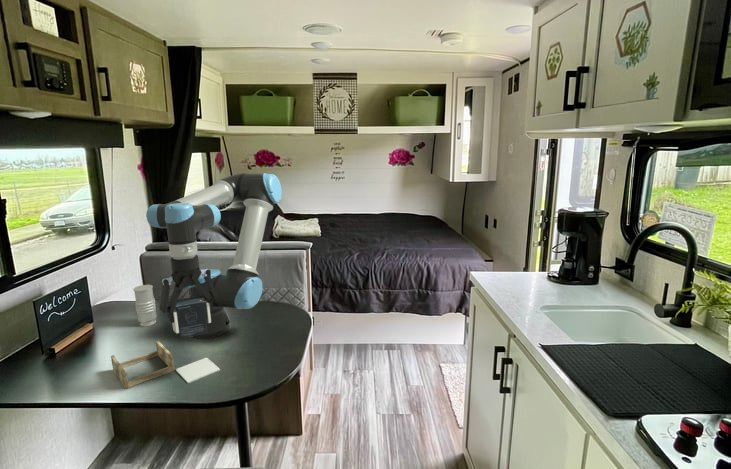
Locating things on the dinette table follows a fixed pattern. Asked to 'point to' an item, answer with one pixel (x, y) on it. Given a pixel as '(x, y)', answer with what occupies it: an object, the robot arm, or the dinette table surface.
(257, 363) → the dinette table surface
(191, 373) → the mat
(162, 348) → the frame
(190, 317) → the box
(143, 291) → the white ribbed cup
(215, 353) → the dinette table surface
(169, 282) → the robot arm
